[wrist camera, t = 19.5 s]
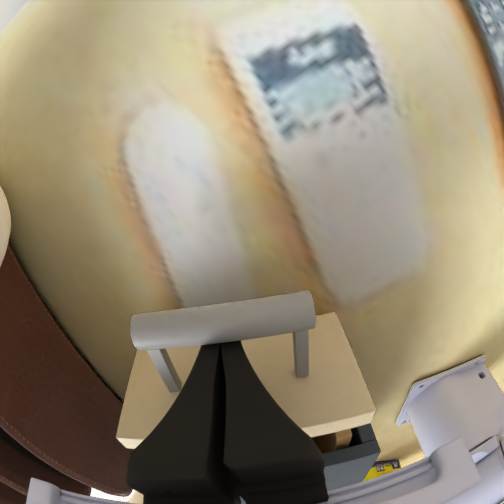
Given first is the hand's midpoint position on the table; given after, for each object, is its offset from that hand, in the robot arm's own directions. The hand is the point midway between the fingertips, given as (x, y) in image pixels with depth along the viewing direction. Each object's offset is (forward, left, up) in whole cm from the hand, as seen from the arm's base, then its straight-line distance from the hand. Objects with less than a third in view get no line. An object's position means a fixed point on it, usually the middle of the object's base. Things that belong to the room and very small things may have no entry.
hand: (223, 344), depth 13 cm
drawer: (0, +6, -3) cm, 7 cm away
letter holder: (+16, +4, -4) cm, 17 cm away
